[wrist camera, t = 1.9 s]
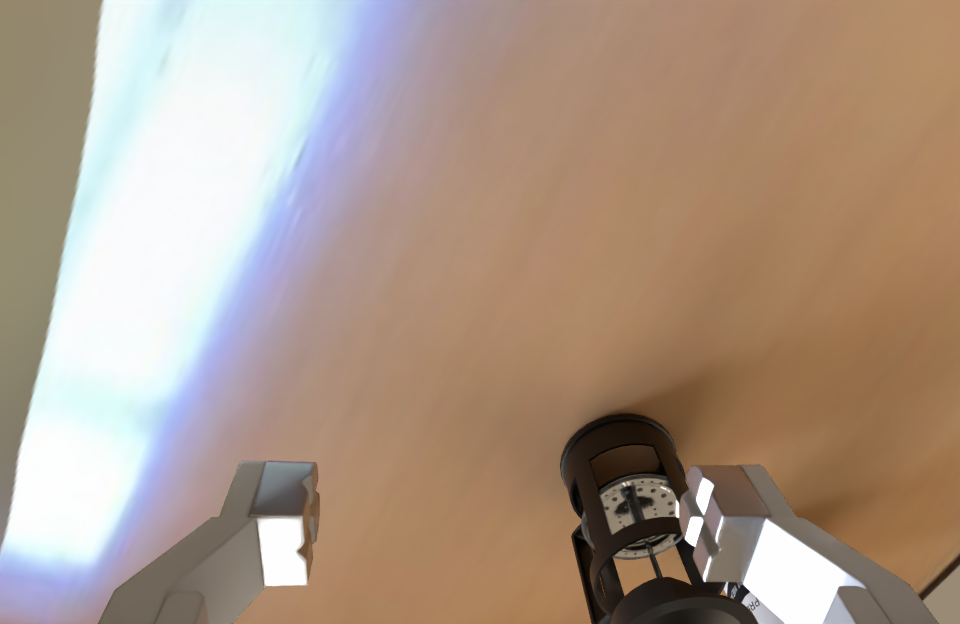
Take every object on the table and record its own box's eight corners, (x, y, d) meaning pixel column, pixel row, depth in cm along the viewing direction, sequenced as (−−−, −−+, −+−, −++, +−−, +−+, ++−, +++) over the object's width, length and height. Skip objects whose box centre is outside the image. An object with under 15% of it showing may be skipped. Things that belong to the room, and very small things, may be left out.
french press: (610, 389, 52) (725, 672, 32) (703, 436, 55) (863, 724, 35) (526, 492, 56) (579, 798, 36) (616, 531, 59) (712, 835, 39)
